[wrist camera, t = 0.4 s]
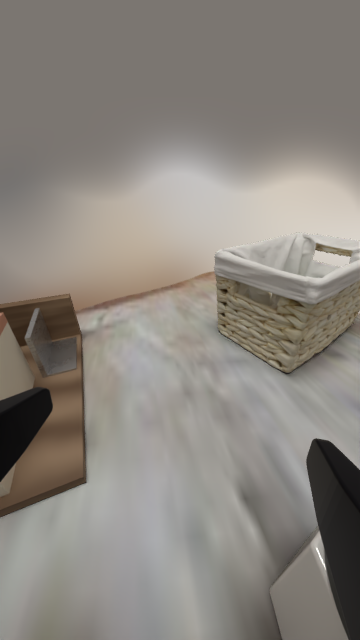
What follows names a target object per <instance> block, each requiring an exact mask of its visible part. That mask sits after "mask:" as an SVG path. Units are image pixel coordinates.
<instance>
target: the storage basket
mask: <svg viewBox="0 0 360 640" xmlns="http://www.w3.org/2000/svg"><path fill="white" fill-rule="evenodd" d="M315 250H318V251H324V252H326V253H328V252H329V253H333V254H338V255H344V256H350V257H351V258H350V262H349V264H347V265H345V266H343V267H338V266H333V265H329V264H325V263H321V262H317V261H314V260H313V255H314V252H315ZM214 270H215V275H216V281H217V283H216V286H217V301H218V302H217V312H218V329H219V331H220V332H221V333H222V334H223V335H224V336H226V337H228V338H230V339H231V340H232V341H234V342H236V343H237V344H239V345H241V346H242V347H243V348H245V349H246V350H248V351H250V352H251V353H253V354H254V355H256V356H257V357H259V358H261V359H262V360H265V361H266V362H267V363H268V364H270V365H271V366H273V367H275V368H277V369H279V370H281V371H283V372H286V373H289V372H292V371H293V370H294V369H295V368H297V367H299V366H300V365H301V364H303V363H304V361H306V360H309V359H310V358H311V357H312V356H313V355H314V354H316V353H318V352H320V351H322V350H323V348H324V347H326V346H328V345H329V344H330V343H331V342H332V340H334V339H336V338H337V337H338V336H339V335H340V334H342V333H343V332H344V331H345V330H346V329H347V328H348V327H350V325H352V323H353V324H354V323H355V322H353V321H354V319H355V318H356V316H357V314H358V312H359V311H360V241H358V240H351V239H345V238H338V237H331V236H324V235H318V234H308V233H295V234H291V235H285V236H280V237H276V238H272V239H268V240H263V241H260V242H255V243H250V244H245V245H240V246H235V247H230V248H226V249H221V250H219V251H217V252H216V254H215V267H214Z"/></svg>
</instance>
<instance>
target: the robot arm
mask: <svg viewBox="0 0 360 640" xmlns="http://www.w3.org/2000/svg"><path fill="white" fill-rule="evenodd" d="M52 410H53V403H52V398H51V393H50V390H49V389H48V388H43V387H35V388H32V389H30V390H27V391H24V392H22V393H19V394H16V395H14V396H11V397H8V398H6V399H3V400H0V482H1V481H2V480H3V478H4V477H5V476H6V475H7V473H8V472H9V471H10V470H11V468H12V467H13V466H14V465H15V463H16V462H17V461H18V460H19V458H20V457H21V456H22V454H23V453H24V452H25V450H26V449H27V448H28V446H29V445H30V443H31V442H32V440H33V439H34V437H35V436H36V434H37V433H38V431H39V430H40V428H41V427H42V426H43V424H44V423H45V421H46V420H47V418H48V417H49V415H50V414H51V412H52ZM306 463H307V470H308V476H309V481H310V486H311V491H312V497H313V502H314V507H315V512H316V518H317V522H318V527H319V531H320V535H321V539H322V542H323V546H324V549H325V553H326V556H327V560H328V563H329V567H330V570H331V574H332V577H333V581H334V584H335V588H336V591H337V595H338V598H339V601H340V605H341V608H342V612H343V615H344V619H345V622H346V626H347V629H348V633H349V636H350V640H360V470H359V469H358V468H357V467H356V466H355V465H354V464H353V463H352V462H351V461H350V460H349V459H348V458H347V457H346V456H345V455H344V454H343V453H342V452H341V451H340V450H339V449H338V448H337V447H336V446H335V445H334V444H333V443H331V442H330V441H327V440H322V439H317V438H316V439H313V441H312V443H311V446H310V449H309V452H308V456H307V460H306Z"/></svg>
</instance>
